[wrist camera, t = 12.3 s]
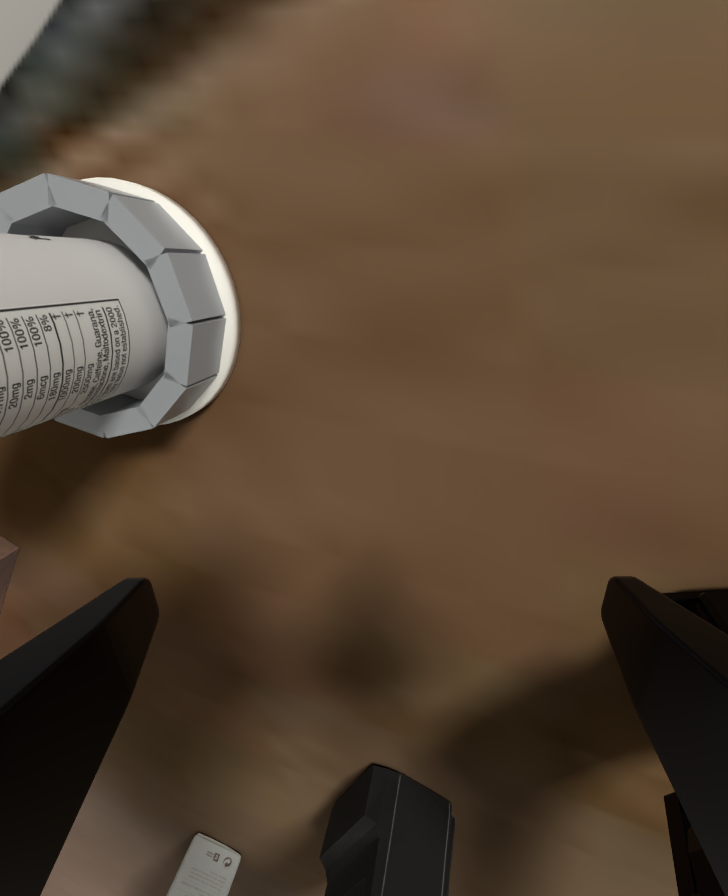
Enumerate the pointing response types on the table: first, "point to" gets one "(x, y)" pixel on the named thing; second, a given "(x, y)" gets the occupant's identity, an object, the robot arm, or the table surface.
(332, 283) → the table surface
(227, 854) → the skincare box
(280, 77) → the table surface
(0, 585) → the tissue box cover
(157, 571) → the table surface
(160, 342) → the energy drink can
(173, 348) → the dock
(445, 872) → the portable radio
